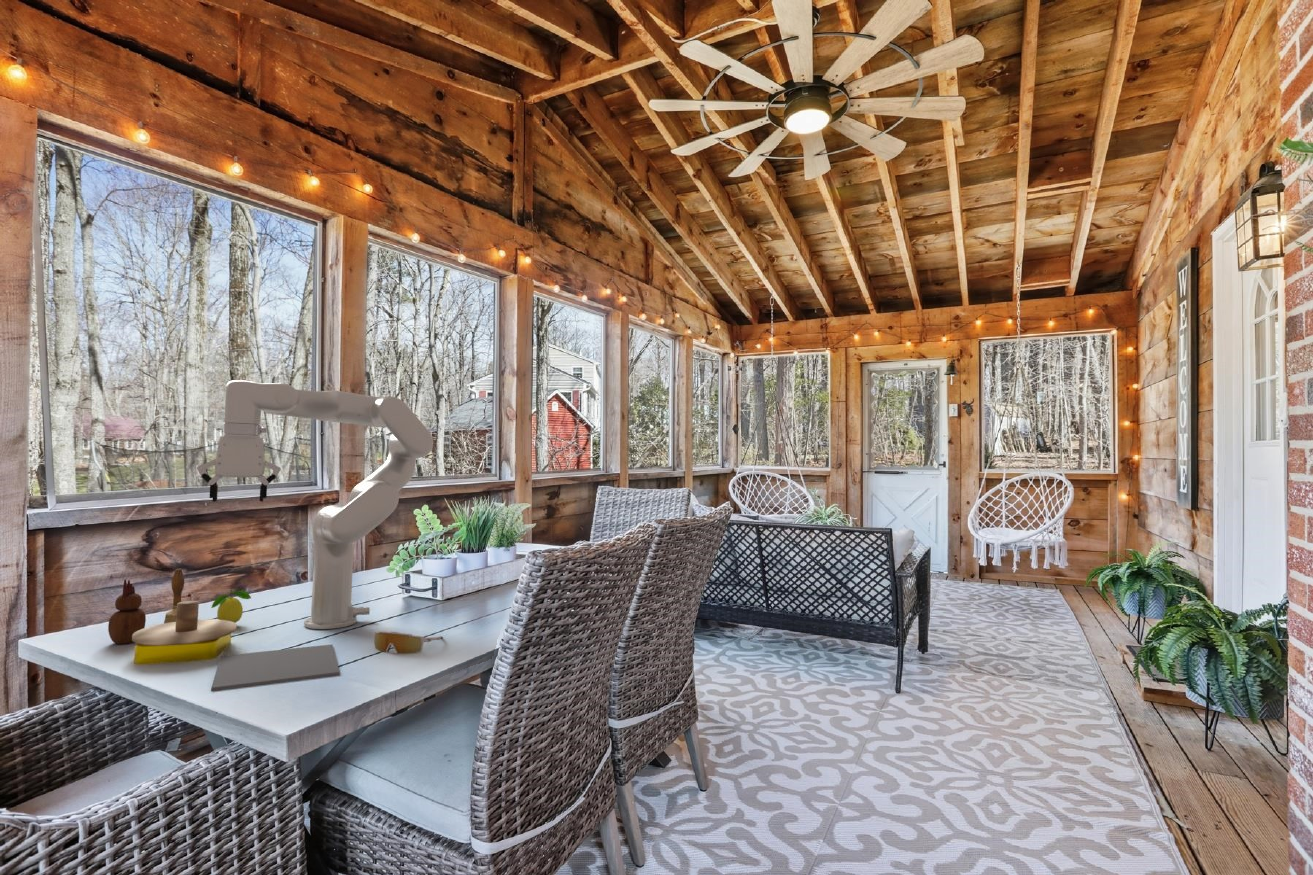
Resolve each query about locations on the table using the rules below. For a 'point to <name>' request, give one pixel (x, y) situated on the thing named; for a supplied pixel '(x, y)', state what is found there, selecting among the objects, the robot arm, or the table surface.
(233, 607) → the lemon
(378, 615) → the table surface
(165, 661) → the element tile
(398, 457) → the robot arm
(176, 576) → the hand bell
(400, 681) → the table surface
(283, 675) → the mat
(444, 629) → the table surface
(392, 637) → the sunglasses
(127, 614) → the wooden figurine
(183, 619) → the lid
